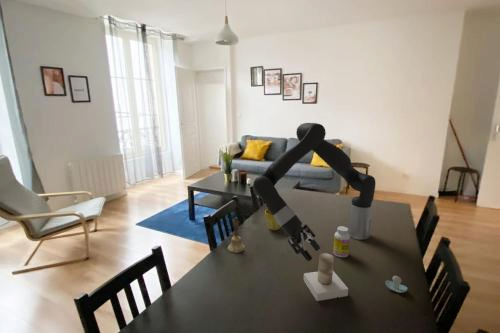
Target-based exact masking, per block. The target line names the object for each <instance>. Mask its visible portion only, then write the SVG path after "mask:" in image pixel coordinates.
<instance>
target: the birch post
mask: <svg viewBox="0 0 500 333" xmlns="http://www.w3.org/2000/svg"><path fill="white" fill-rule="evenodd" d="M334 257H335V256H334V255H332V254H331V253H326V252H323V253H320V254H319V256H318V269H317V270H318V271H317V272H318V282H319V283H320V284H322V285H330V284H331V283H332V275H333V271H334V261H335V258H334Z"/></svg>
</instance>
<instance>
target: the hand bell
mask: <svg viewBox="0 0 500 333" xmlns="http://www.w3.org/2000/svg"><path fill="white" fill-rule="evenodd" d="M239 226H240V221H239V218H238V216H235V217H234V220H233V229H234V236H232V237H231V238H230V239H231V241H230V243H229V245H228V247H227V250H228V251H229V252H231V253H233V254H235V253H242V252H243V251H245V249H246V247H245V245H244V244H243V241H242V238H241V236H239V232H238V231H239Z"/></svg>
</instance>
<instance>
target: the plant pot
mask: <svg viewBox="0 0 500 333" xmlns="http://www.w3.org/2000/svg"><path fill="white" fill-rule="evenodd" d="M264 218H265V219H266V224H267V227H268V229H269V230H271V231H278V230H280V229H281V226H280V225H279V224H278V222H277V221H276V219H275V218H274V215H272V214H271V212H270V211H269V210H268V208H267V209H265V211H264Z"/></svg>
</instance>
